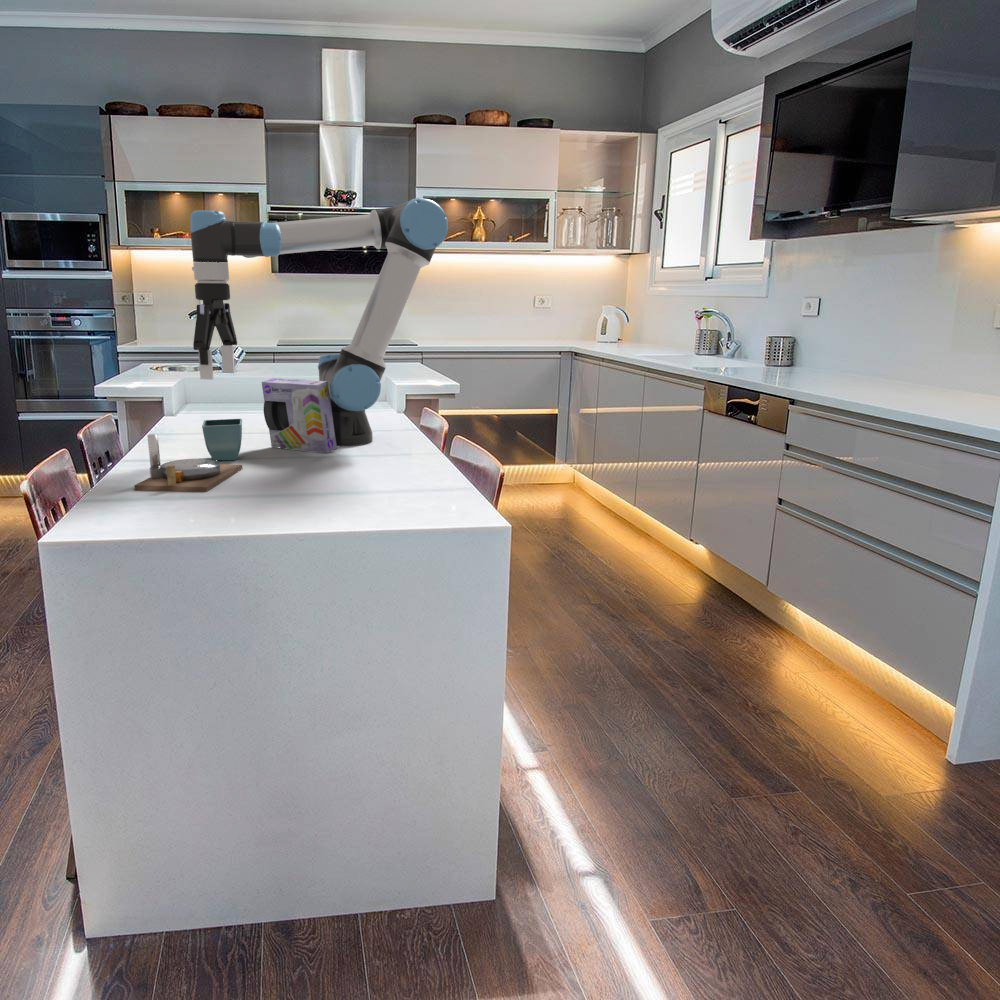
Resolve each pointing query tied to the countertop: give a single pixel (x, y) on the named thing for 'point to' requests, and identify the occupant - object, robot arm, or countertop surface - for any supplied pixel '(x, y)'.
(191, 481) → the base
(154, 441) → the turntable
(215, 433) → the flower pot
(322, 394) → the cake pan box
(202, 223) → the robot arm
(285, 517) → the countertop surface
